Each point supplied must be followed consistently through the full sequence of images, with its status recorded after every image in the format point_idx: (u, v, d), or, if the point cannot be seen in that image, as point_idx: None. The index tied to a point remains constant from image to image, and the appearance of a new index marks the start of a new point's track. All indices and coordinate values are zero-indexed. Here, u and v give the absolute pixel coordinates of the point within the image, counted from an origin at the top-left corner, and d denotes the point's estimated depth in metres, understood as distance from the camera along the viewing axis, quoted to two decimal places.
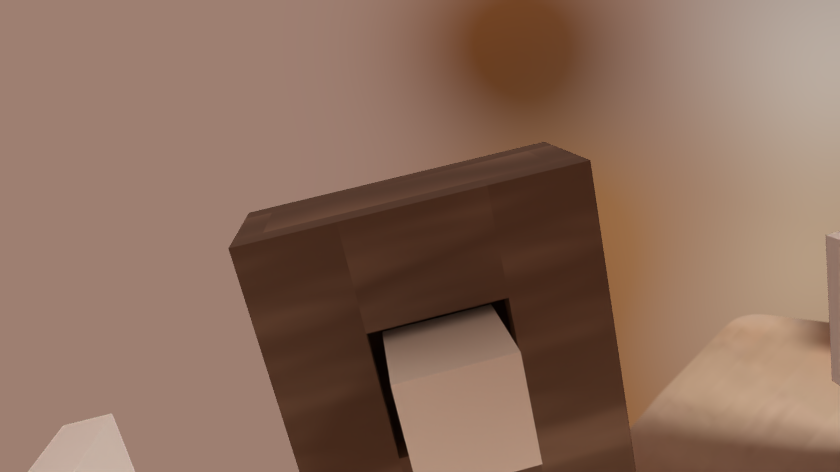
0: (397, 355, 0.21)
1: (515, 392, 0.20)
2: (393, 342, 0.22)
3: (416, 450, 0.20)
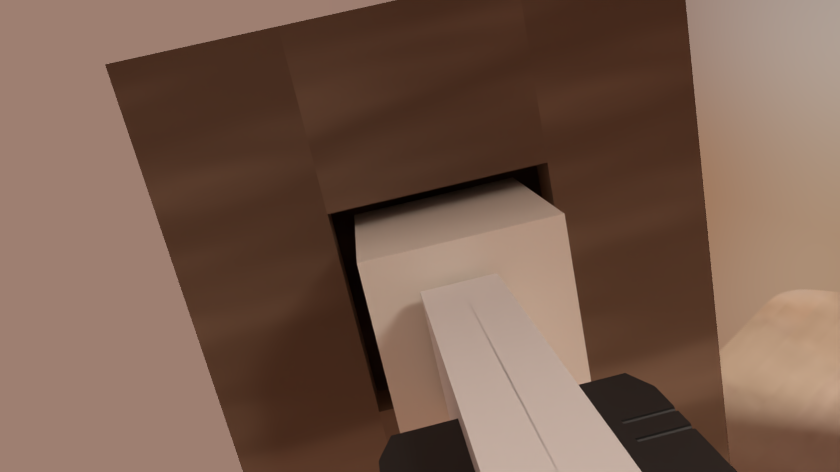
0: (372, 233, 0.14)
1: (554, 280, 0.13)
2: (368, 222, 0.15)
3: (398, 371, 0.13)
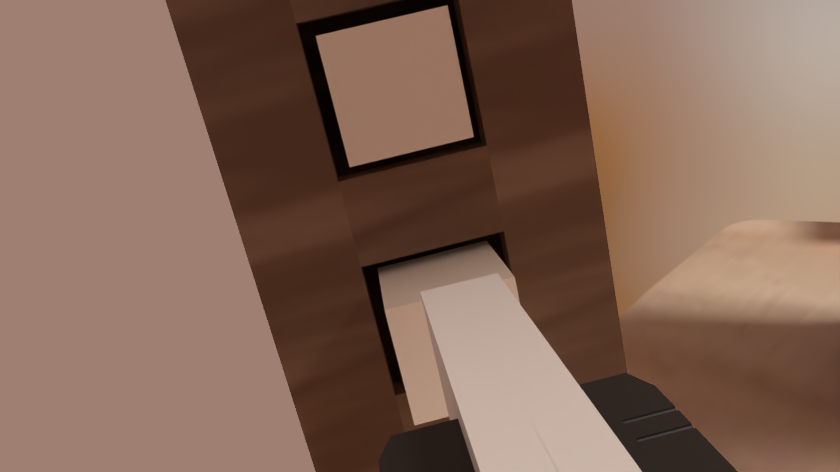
0: None
1: (443, 51, 0.20)
2: None
3: (344, 112, 0.20)
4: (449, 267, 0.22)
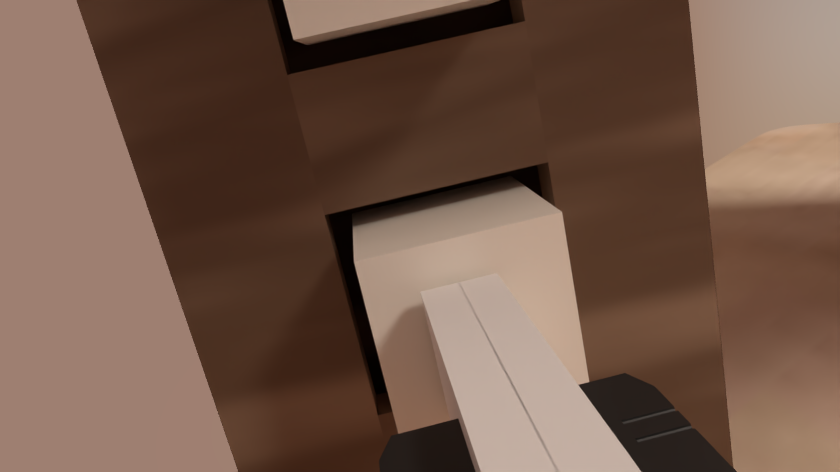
0: None
1: None
2: None
3: None
4: None
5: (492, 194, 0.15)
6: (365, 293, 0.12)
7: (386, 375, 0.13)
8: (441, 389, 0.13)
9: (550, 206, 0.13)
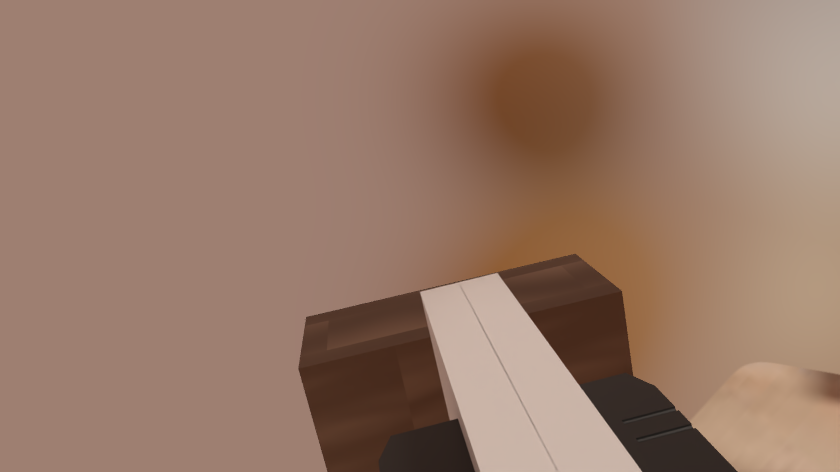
0: None
1: None
2: None
3: None
4: None
5: None
6: None
7: None
8: None
9: None
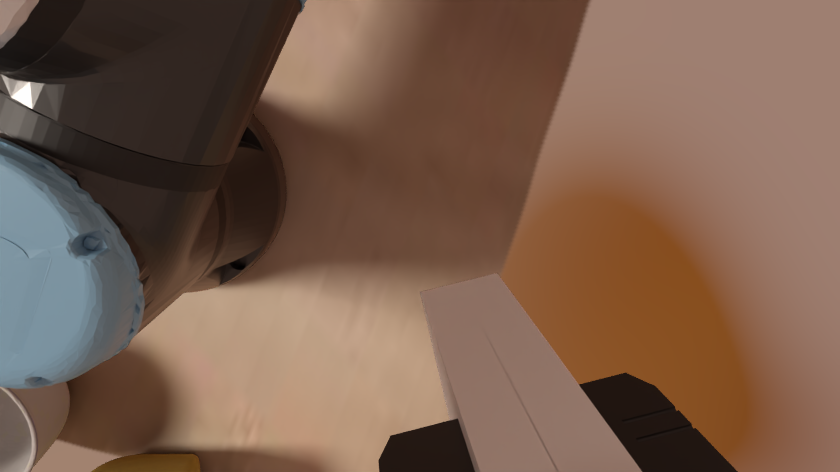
0: None
1: None
2: None
3: None
4: None
5: None
6: None
7: None
8: None
9: None
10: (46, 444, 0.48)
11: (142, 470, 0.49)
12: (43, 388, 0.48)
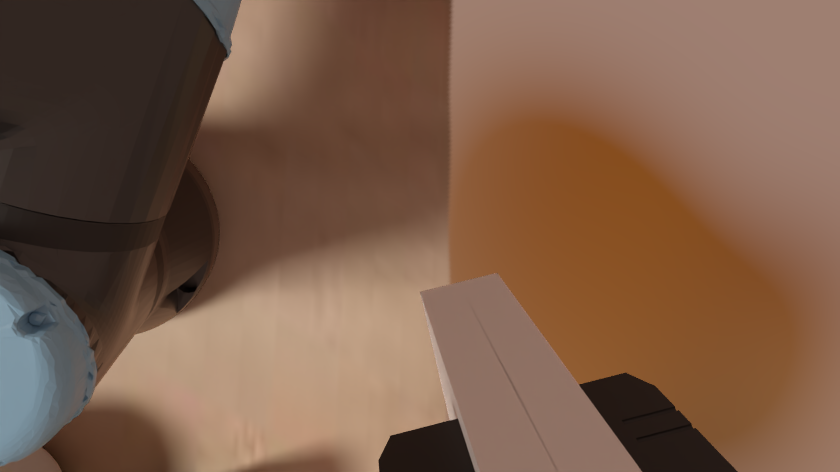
0: None
1: None
2: None
3: None
4: None
5: None
6: None
7: None
8: None
9: None
10: None
11: None
12: (31, 471, 0.46)
